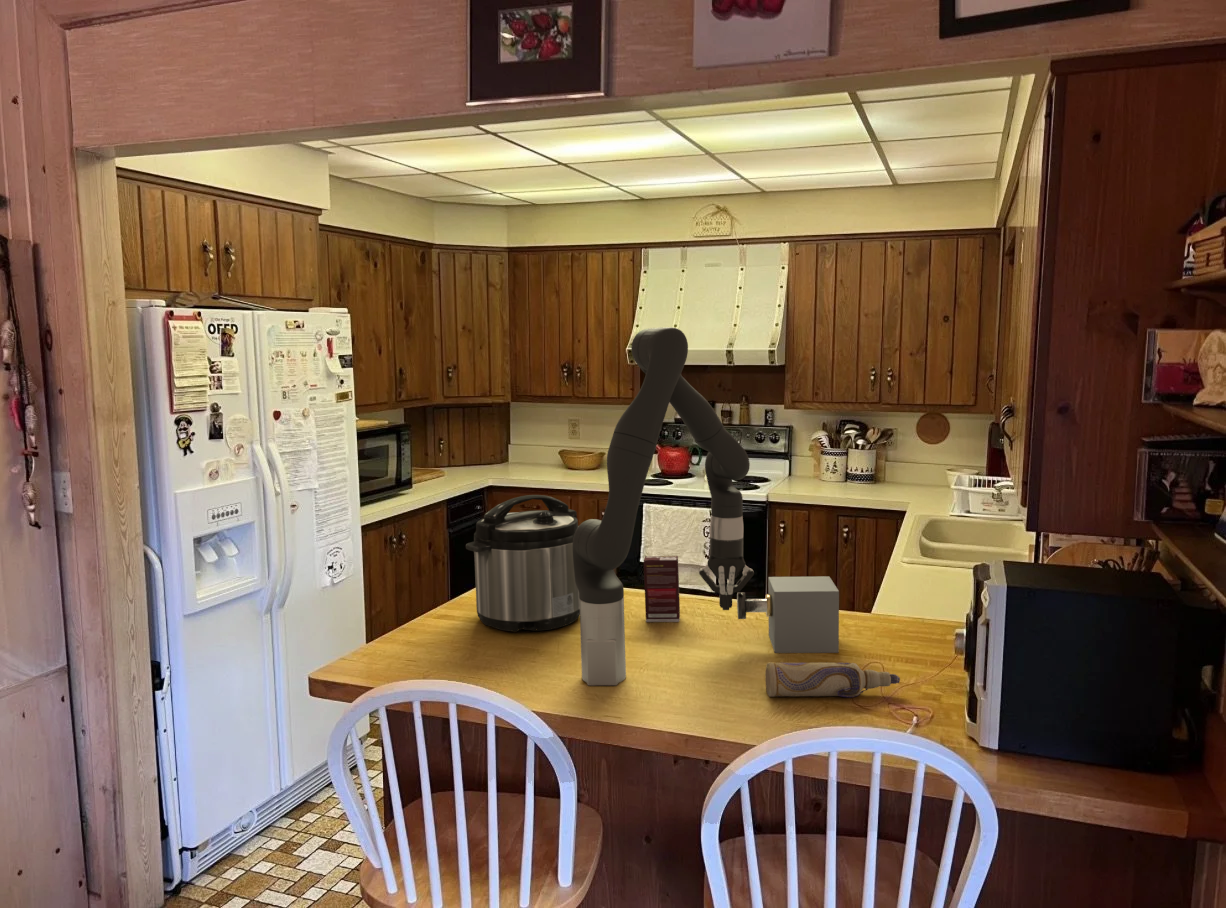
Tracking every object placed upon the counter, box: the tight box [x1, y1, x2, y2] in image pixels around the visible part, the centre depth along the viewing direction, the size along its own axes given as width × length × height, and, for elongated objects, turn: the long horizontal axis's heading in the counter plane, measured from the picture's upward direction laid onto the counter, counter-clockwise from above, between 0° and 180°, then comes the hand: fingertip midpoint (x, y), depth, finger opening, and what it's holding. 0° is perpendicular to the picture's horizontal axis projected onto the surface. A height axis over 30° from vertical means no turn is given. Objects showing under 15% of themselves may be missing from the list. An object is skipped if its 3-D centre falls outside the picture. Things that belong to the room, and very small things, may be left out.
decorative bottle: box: [764, 661, 901, 699], centre depth 174 cm, size 26×8×7 cm, turn 87°
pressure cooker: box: [465, 494, 580, 632], centre depth 225 cm, size 30×28×32 cm
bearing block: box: [767, 575, 840, 654], centre depth 202 cm, size 12×14×14 cm
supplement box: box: [643, 555, 681, 623], centre depth 222 cm, size 9×5×16 cm, turn 84°
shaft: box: [736, 591, 772, 620], centre depth 202 cm, size 6×21×6 cm, turn 86°
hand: (725, 609), depth 203 cm, fingers closed
